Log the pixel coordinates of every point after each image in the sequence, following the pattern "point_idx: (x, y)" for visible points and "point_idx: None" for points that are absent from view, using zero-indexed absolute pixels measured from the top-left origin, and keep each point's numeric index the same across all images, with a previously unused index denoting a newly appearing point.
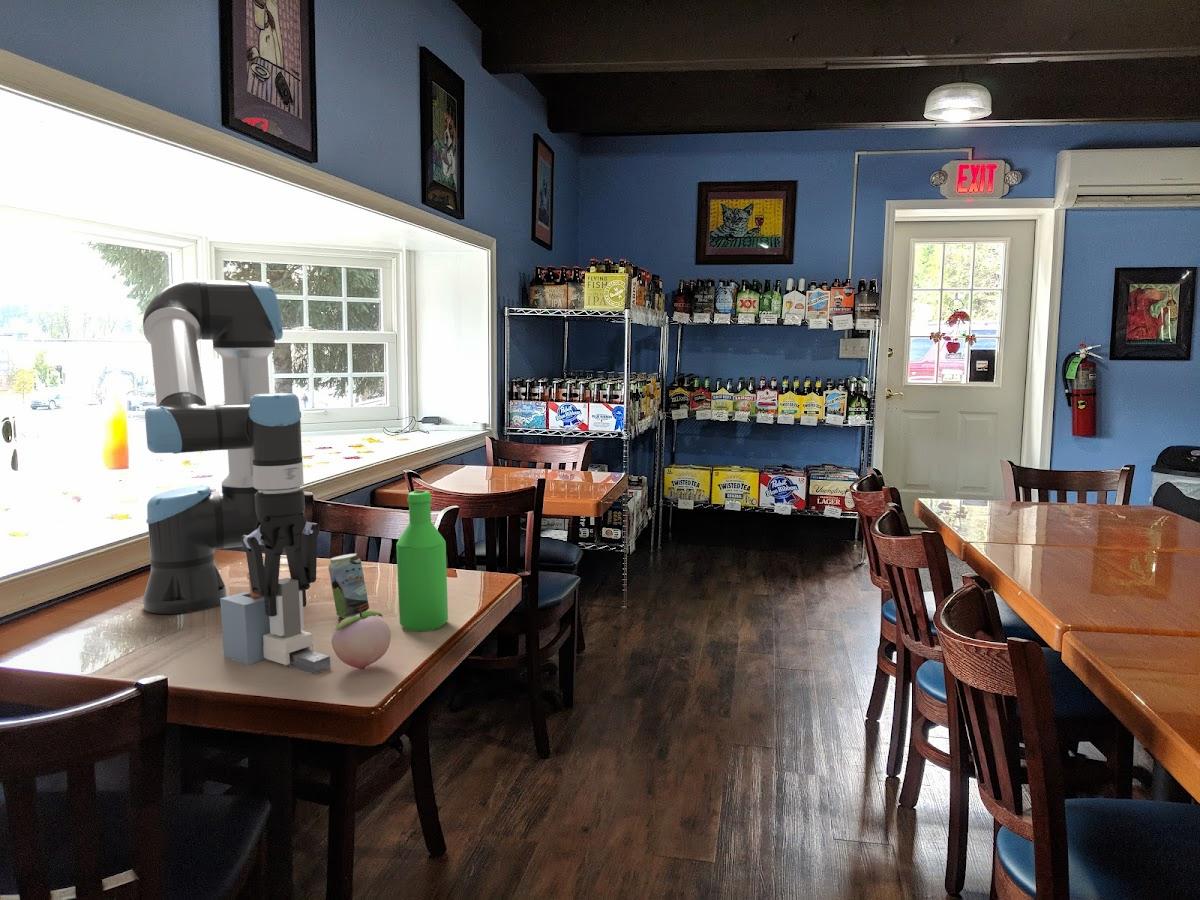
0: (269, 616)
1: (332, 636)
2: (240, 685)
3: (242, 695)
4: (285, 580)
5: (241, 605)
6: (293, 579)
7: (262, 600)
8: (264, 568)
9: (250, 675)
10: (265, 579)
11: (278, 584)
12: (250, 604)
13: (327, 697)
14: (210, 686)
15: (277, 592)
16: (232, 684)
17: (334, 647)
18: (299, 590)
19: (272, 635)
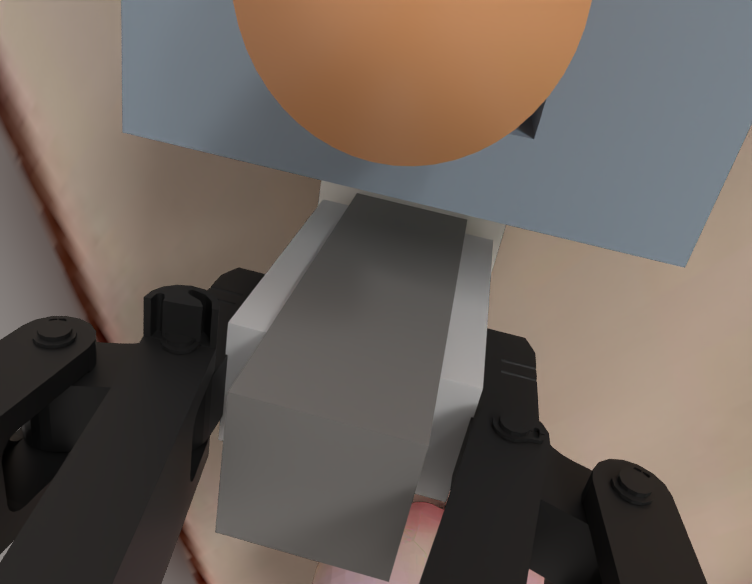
0: (291, 242)
1: (329, 581)
2: (123, 210)
3: (76, 285)
4: (330, 490)
5: (127, 80)
6: (389, 538)
7: (296, 172)
8: (32, 524)
9: (210, 169)
10: (6, 543)
11: (222, 484)
12: (179, 145)
13: (215, 522)
14: (47, 99)
15: (206, 458)
16: (111, 172)
17: (318, 565)
18: (433, 487)
19: (350, 187)
